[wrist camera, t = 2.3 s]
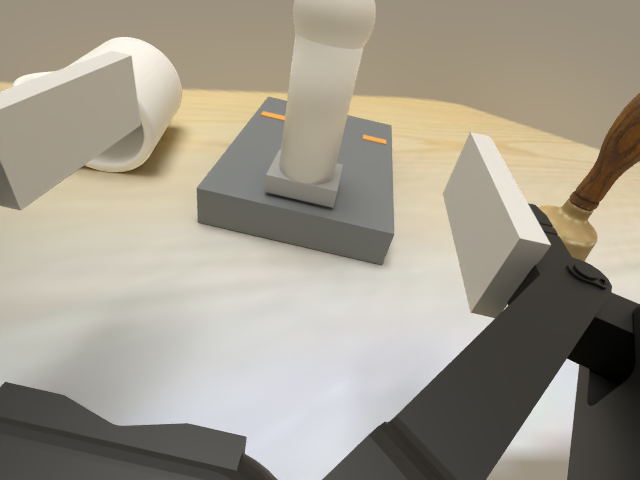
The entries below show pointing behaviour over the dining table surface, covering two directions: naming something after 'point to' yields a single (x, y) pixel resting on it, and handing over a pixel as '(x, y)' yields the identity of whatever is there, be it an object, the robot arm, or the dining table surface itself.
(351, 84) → the lever
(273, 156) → the console
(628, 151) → the hand bell
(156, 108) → the mug
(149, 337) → the dining table surface
